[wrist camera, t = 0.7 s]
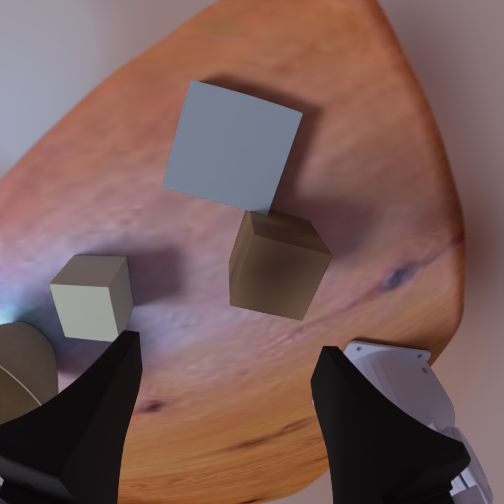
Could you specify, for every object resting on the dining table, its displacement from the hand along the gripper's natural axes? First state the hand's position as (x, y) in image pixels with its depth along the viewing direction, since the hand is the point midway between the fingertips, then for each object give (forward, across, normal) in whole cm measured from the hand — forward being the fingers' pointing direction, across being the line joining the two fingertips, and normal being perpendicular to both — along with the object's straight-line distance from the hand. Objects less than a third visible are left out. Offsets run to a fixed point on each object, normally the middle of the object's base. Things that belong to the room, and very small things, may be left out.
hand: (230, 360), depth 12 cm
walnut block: (+10, -2, -1) cm, 10 cm away
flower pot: (+10, +17, +11) cm, 22 cm away
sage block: (+10, +8, +3) cm, 13 cm away
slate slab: (+10, +1, -7) cm, 12 cm away
